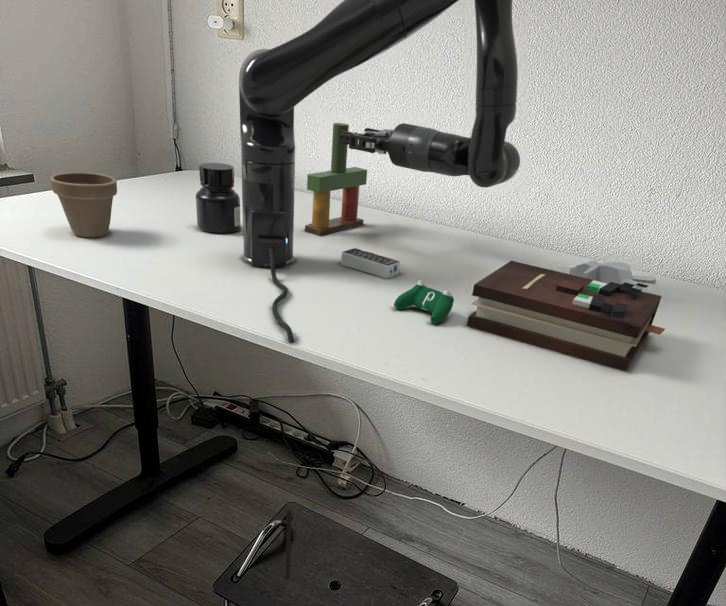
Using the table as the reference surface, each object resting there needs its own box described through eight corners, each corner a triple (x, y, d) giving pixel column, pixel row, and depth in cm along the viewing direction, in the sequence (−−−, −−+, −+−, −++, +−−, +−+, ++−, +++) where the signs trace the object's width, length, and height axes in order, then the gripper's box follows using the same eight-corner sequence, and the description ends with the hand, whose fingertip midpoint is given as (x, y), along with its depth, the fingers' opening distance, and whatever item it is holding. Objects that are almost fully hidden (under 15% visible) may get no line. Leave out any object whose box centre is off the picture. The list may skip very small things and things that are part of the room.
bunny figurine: (588, 254, 131) (663, 266, 122) (584, 280, 134) (656, 293, 125) (564, 261, 125) (640, 274, 116) (560, 289, 128) (634, 303, 119)
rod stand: (320, 235, 141) (322, 193, 136) (304, 230, 143) (306, 188, 138) (363, 225, 151) (366, 185, 146) (347, 220, 153) (350, 181, 148)
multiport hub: (353, 259, 129) (354, 247, 128) (400, 273, 124) (401, 261, 123) (339, 264, 126) (340, 251, 125) (386, 278, 121) (388, 266, 120)
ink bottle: (248, 232, 138) (247, 170, 131) (208, 236, 134) (205, 172, 127) (228, 220, 144) (226, 160, 137) (190, 223, 140) (186, 162, 133)
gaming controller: (442, 333, 107) (462, 303, 107) (434, 321, 103) (455, 289, 104) (399, 316, 111) (418, 286, 112) (390, 303, 108) (410, 273, 108)
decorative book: (501, 251, 115) (680, 292, 104) (493, 293, 119) (664, 337, 108) (457, 277, 101) (658, 328, 90) (449, 324, 105) (640, 378, 94)
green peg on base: (319, 193, 136) (322, 127, 129) (306, 189, 137) (308, 124, 131) (366, 184, 147) (371, 123, 140) (353, 181, 148) (358, 121, 141)
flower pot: (122, 225, 135) (115, 172, 129) (124, 241, 126) (117, 185, 121) (60, 225, 132) (51, 170, 126) (58, 242, 123) (48, 183, 117)
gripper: (440, 124, 130) (374, 112, 137) (399, 128, 120) (331, 115, 127) (435, 166, 134) (371, 152, 141) (395, 173, 124) (329, 158, 132)
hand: (352, 134), depth 134 cm, fingers open, 8 cm apart
